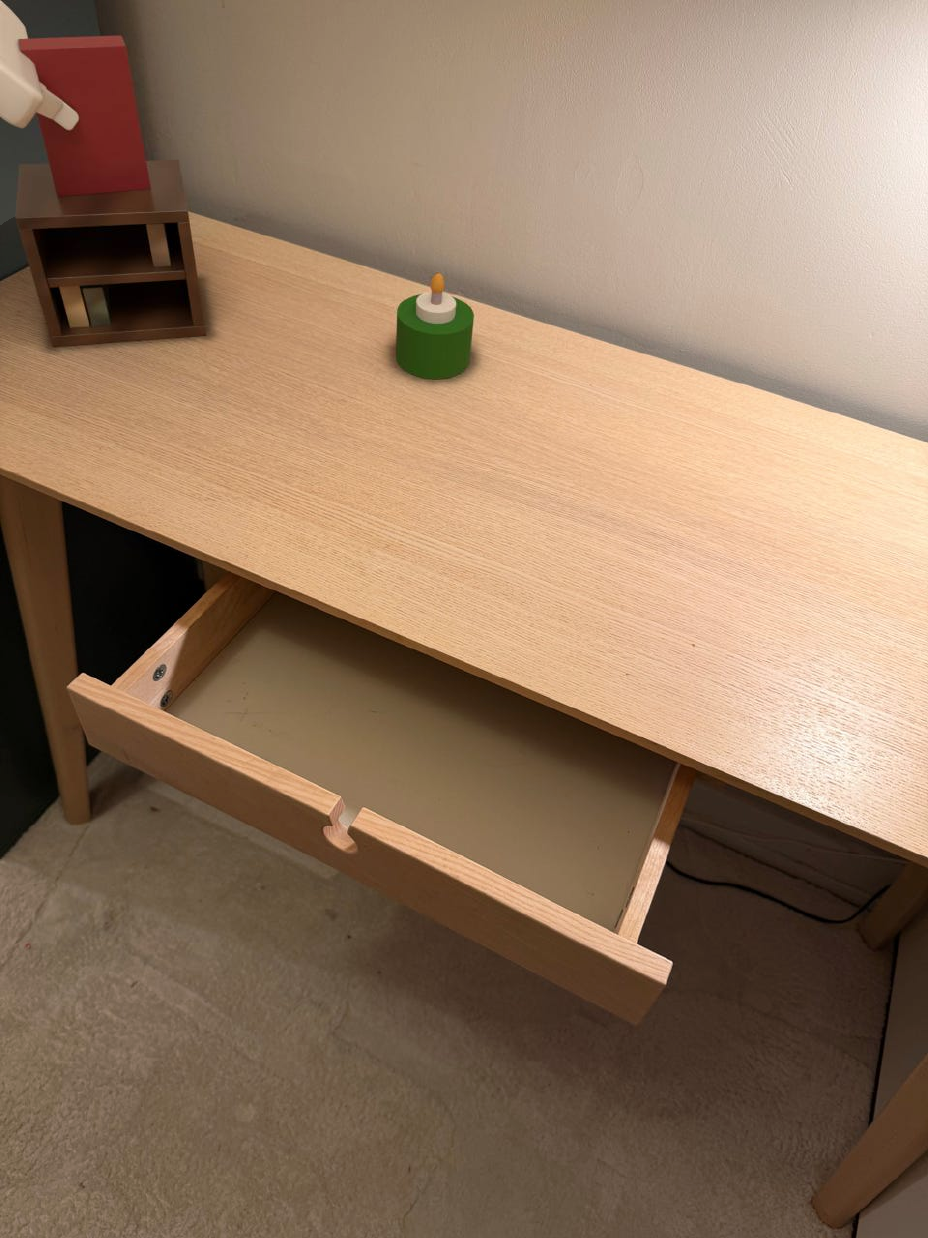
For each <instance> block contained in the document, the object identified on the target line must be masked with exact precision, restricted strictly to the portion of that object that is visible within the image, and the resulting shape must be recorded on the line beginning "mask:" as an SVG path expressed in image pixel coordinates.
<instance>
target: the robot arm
mask: <svg viewBox="0 0 928 1238" xmlns="http://www.w3.org/2000/svg"><path fill="white" fill-rule="evenodd" d="M18 39H29V37H28V33H27V28H26V26H25V25H24V23H23V22H22V21H21V19H20V18H19V17H18V16H17V15H16V14H15V13H14V11H13V10H12V9H10V7H9V6H7V5H6V3H5V2H3V1H2V0H0V118H1V119H2V120H4V121H5V122H7V123H8V124H10V125H12V126H14V127H16V128H19V129H24V128H26V127H27V126H28V125H29V124H30V123H31V121H32V119H33V118H34V117H35V115H36V114H37V113H39V114H41V115H44V116H46V117H48V118H50V119H53V120H54V121H56V122H57V123H58V124H60V125H61V126H62V127H64V128H65V129H67V130H71V129H73V127H74V126H75V125H76V123H77V122H78V120H79V116H78V114H77V111H76V109H75V108H74V107H73V106H71V105H70V104H69V103H68V102H66V101H65V100H64V99H63V98H61V99H60V98H58V97H57V96H55V95H54V94H53V93H51V92H50V91H48V90H47V89H46V87H45V86H44V85H43V84H42V83H40V82H39V79H38V75H37V71H36V67H35V64H34V63H33V62H32V61H31V60H30V59H29V58H28V57H26V56H25V55H24V54H23V53H21V50H20V45H19V41H18ZM36 112H37V113H36Z"/></svg>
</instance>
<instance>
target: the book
mask: <svg viewBox="0 0 928 1238" xmlns="http://www.w3.org/2000/svg"><path fill="white" fill-rule="evenodd" d="M18 41H19V45H20V50H21V53H23V54H24V55H25V56H26V57H28V58H29V59H30V60H31V61H32V62H33V63H34V64H35V67H36V71H37V75H38V79H39V82H40V83H42V84H43V85H44V86H45V87H46V89H47V90H48V91H50V92H51V93H53V94H54V95H55V96H57V97H58V98H60V99H61V98H63V99H64V100H65V101H66V102H68V103H69V104H70V105H71V106H73V107H74V108H75V109H76V111H77V114H78V116H79V120H78V122H77V123H76V125H75V126H74V127H73V129H71V130H67V129H65V128H64V127H62V126H61V125H60V124H58V123H57V122H56V121H54V120H53V119H50V118H48V117H46V116H44V115H41V114H39V113H37V112H36V113H35V114H36V116H37V120H38V124H39V129H40V133H41V137H42V141H43V144H44V150H45V152H46V157H47V160H48V164H49V165H50V169H51V173H52V177H53V180H54V184H55V188H56V192H57V196H58V197H61V196H73V195H85V194H97V193H109V192H121V191H133V190H145V189H151V187H150V181H149V176H148V170H147V164H146V161H147V159H146V153H145V148H144V142H143V137H142V130H141V125H140V119H139V113H138V107H137V102H136V96H135V91H134V84H133V79H132V73H131V68H130V63H129V56H128V51H127V45H126V43H125V40H124V38H123V36H122V35H93V36H92V35H91V36H64V37H63V36H62V37H37V38H36V37H35V38H28V39H18Z"/></svg>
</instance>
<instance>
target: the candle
mask: <svg viewBox="0 0 928 1238" xmlns="http://www.w3.org/2000/svg"><path fill="white" fill-rule="evenodd" d="M444 289H445V280H444V276H443V275H442V274H441V273H439V272H438V273H435V274H434V275H433V277H432V278H431V281H430V290H431V291H427V292H424V293H419V294H415V295H412V296H409V297H407V298H405V299H404V300H402V301H401V302H400V303H399V305H398V306H397V308H396V309H397V310H396V340H395V359H396V363H397V364H398V365H399V367H400V368H401V369H402V370H403V371H405V372H407V373H408V374H410V375H413V376H415V377H418V378H422V379H426V380H447V379H451V378H454V377H457V376H459V375H461V374H463V373H464V372H465V371H466V370H467V369H468V367H469V366H470V361H471V349H472V339H473V329H474V321H475V320H474V319H475V314H474V311H473V309H472V308H471V307H470V305H469V304H468V303H466V302H465V301H463V300H462V299H460V298H458V297H455V296H452V295H449V294H448V293H445V292H443V291H444Z"/></svg>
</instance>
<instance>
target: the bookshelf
mask: <svg viewBox="0 0 928 1238" xmlns="http://www.w3.org/2000/svg"><path fill="white" fill-rule="evenodd" d="M180 162H181V161H180V160H179V159H156V160H154V159H153V160H146V164H147V170H148V176H149V181H150V187H151V189H145V190H133V191H121V192H109V193H97V194H85V195H73V196H61V197H58V196H57V192H56V188H55V184H54V180H53V177H52V173H51V169H50V165H49V163H25V164H23V163H20V164H19V170H18V182H17V195H16V207H15V221H16V225H17V229H18V233H19V236H20V239H21V242H22V246H23V250H24V253H25V257H26V259H27V264H28V267H29V270H30V274H31V277H32V280H33V283H34V287H35V290H36V294H37V297H38V300H39V305H40V307H41V311H42V315H43V319H44V321H45V324H46V328H47V332H48V335H49V339H50V341H51V345H52V347H53V348H56V347H70V346H71V347H72V346H82V345H83V346H85V345H96V344H108V343H109V344H110V343H124V342H136V341H138V342H139V341H150V340H151V341H152V340H163V339H176V338H189V337H202V336H207V331H206V325H205V316H204V311H203V304H202V295H201V292H200V291H201V290H200V283H199V278H198V277H199V276H198V270H197V269H198V268H197V263H196V255H195V250H194V243H193V236H192V229H191V223H190V216H189V209H188V203H187V197H186V192H185V187H184V180H183V175H182V174H183V173H182V169H181V163H180Z"/></svg>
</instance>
